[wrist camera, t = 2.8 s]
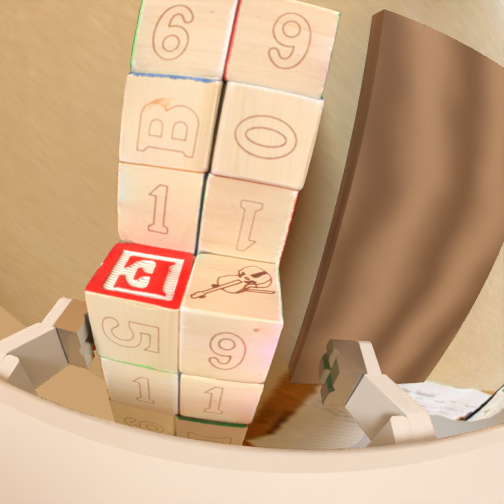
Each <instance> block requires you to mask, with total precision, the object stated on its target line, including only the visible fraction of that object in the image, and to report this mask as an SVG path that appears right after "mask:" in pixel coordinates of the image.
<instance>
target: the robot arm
mask: <svg viewBox="0 0 504 504" xmlns="http://www.w3.org/2000/svg"><path fill="white" fill-rule="evenodd" d="M94 350H96V348H95V344H94V339H93V334H92V329H91V324H90V320H89V315H88V309H87V304H86V302H83V301H79V300H75V299H74V300H73V299H70V298H66V297H62V298H60V299H59V300H58V302H57V303H56V304H55V305H54V307H53V308H52V309H51V311H50V312H49V313H48V315H47V316H46V317H45V319H44V320H43V321H42V323H36V324H34V325H32V326H30V327H28V328H25V329H23V330H21V331H19V332H17V333H15V334H13V335H11V336H9V337H7V338H5V339H3V340H0V504H504V423H502V424H498V425H495V426H491V427H487V428H484V429H480V430H476V431H472V432H467V433H463V434H458V435H454V436H449V437H443V438H438V439H437V438H436V435H435V432H434V429H433V426H432V423H431V420H430V417H429V414H428V412H427V411H426V410H425V409H424V408H423V407H421V406H420V405H419V404H418V403H417V402H416V401H415V400H414V399H412V398H411V397H410V396H409V395H408V394H407V393H406V392H405V391H403V390H402V389H401V388H400V387H399V386H398V385H397V384H396V383H394V382H393V381H392V380H391V379H390V378H389V377H388V376H387V375H385V374H382V373H381V370H380V367H379V364H378V361H377V358H376V355H375V352H374V349H373V346H372V344H371V342H370V341H352V340H335V339H330V340H329V341H328V343H327V345H326V351H327V353H325V354H324V355H322V357H321V360H320V363H319V369H318V375H319V381H320V382H321V383H322V384H323V386H322V388H321V397H322V404H323V405H333V406H345V408H346V409H347V411H348V412H349V413H350V414H351V416H352V417H353V418H354V419H355V421H356V422H357V423H358V425H359V426H360V427H361V428H362V430H363V431H364V432H365V434H366V435H367V436H368V437H369V439H370V440H371V442H370V443H369V444H368V445H367V446H366V447H365V448H348V449H281V448H263V447H250V446H240V445H230V444H222V443H214V442H207V441H200V440H194V439H188V438H182V437H177V436H171V435H166V434H161V433H157V432H152V431H148V430H143V429H139V428H135V427H131V426H127V425H123V424H119V423H116V422H112V421H108V420H105V419H102V418H98V417H95V416H92V415H89V414H86V413H83V412H80V411H76V410H74V409H71V408H68V407H65V406H62V405H60V404H57V403H54V402H52V401H49V400H47V399H44V398H42V397H39V396H38V394H37V393H36V391H35V389H36V388H38V387H39V386H40V385H42V384H43V383H44V382H46V381H47V380H49V379H50V378H51V377H53V376H54V375H55V374H57V373H58V372H60V371H61V370H62V369H64V368H65V367H67V366H68V364H71V365H75V366H78V367H82V368H86V369H88V368H89V366H90V364H91V363H92V361H93V359H94V357H95V355H94V352H93V351H94Z"/></svg>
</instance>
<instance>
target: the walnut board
mask: <svg viewBox="0 0 504 504" xmlns="http://www.w3.org/2000/svg"><path fill="white" fill-rule="evenodd" d="M503 242H504V68H503V67H502V66H500V65H499V64H497V63H495V62H494V61H492V60H491V59H489V58H487V57H486V56H484V55H482V54H481V53H479V52H477V51H475V50H474V49H472V48H470V47H468V46H466V45H464V44H463V43H461V42H459V41H457V40H455V39H453V38H451V37H449V36H447V35H445V34H443V33H441V32H439V31H436V30H434V29H432V28H430V27H428V26H425V25H423V24H421V23H418V22H416V21H414V20H411V19H409V18H406V17H404V16H401V15H398V14H396V13H393V12H390V11H387V10H385V9H384V10H382V11H380V12H379V13H377V14H375V15H373V16H372V23H371V30H370V37H369V44H368V51H367V57H366V63H365V69H364V75H363V81H362V87H361V92H360V97H359V103H358V108H357V113H356V118H355V123H354V128H353V133H352V138H351V142H350V147H349V152H348V156H347V161H346V165H345V170H344V174H343V178H342V182H341V187H340V191H339V195H338V199H337V203H336V207H335V211H334V215H333V219H332V223H331V227H330V230H329V234H328V238H327V242H326V245H325V249H324V253H323V256H322V260H321V264H320V267H319V271H318V274H317V278H316V281H315V284H314V288H313V291H312V295H311V298H310V301H309V304H308V308H307V311H306V314H305V317H304V321H303V324H302V327H301V330H300V333H299V336H298V339H297V342H296V346H295V349H294V352H293V355H292V358H291V361H290V363H289V375H290V383H301V384H322V383H321V382H320V381H319V375H318V369H319V363H320V360H321V357H322V355H324V354H325V353H327V351H326V345H327V343H328V341H329V340H330V339H335V340H352V341H370V342H371V344H372V346H373V349H374V352H375V355H376V358H377V361H378V364H379V367H380V370H381V373H382V374H385V375H387V376H388V377H389V378H390V379H391V380H392V381H393V382H394V383H396V384H402V383H419V382H424V381H425V380H426V379H427V377H428V376H429V375H430V373H431V372H432V370H433V369H434V367H435V366H436V365H437V363H438V362H439V360H440V359H441V357H442V356H443V354H444V353H445V351H446V350H447V348H448V347H449V345H450V343H451V342H452V340H453V339H454V337H455V335H456V334H457V332H458V331H459V329H460V327H461V325H462V324H463V322H464V320H465V319H466V317H467V315H468V313H469V312H470V310H471V308H472V306H473V304H474V303H475V301H476V299H477V297H478V295H479V293H480V291H481V289H482V287H483V285H484V283H485V281H486V279H487V277H488V275H489V273H490V271H491V269H492V267H493V265H494V263H495V260H496V258H497V256H498V254H499V251H500V249H501V247H502V244H503Z"/></svg>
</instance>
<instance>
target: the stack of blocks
mask: <svg viewBox="0 0 504 504" xmlns="http://www.w3.org/2000/svg"><path fill="white" fill-rule="evenodd" d="M339 21H340V12H336V11H333V10H330V9H326V8H323V7H319V6H316V5H312V4H308V3H304V2H299V1H295V0H142V2H141V7H140V11H139V16H138V21H137V26H136V31H135V36H134V41H133V47H132V54H131V61H130V66H131V72H130V73H129V74H128V75H127V79H126V84H125V93H124V101H123V110H122V121H121V135H120V146H119V159H120V162H119V166H118V172H117V177H118V178H117V226H118V233H119V237H120V241H119V242H118V243H117V244H116V245H115V246H114V247H113V248H112V250H111V251H110V252H109V254H108V256H107V257H106V259H105V260H104V261H103V263H102V264H101V265H100V267H99V269H98V270H97V271H96V273H95V274H94V276H93V277H92V279H91V280H90V281H89V283H88V285H87V287H86V288H85V298H86V304H87V309H88V315H89V320H90V324H91V329H92V334H93V339H94V344H95V348H96V352H97V354H98V355H99V357H100V363H101V369H102V372H103V376H104V380H105V382H106V387H107V391H108V394H109V402H110V406H111V409H112V413H113V416H114V419H115V422H116V423H119V424H123V425H127V426H131V427H135V428H139V429H143V430H148V431H152V432H157V433H161V434H166V435H171V436H177V437H182V438H188V439H194V440H200V441H207V442H214V443H222V444H230V445H240V446H242V443H243V440H244V438H245V435H246V432H247V428H248V424H249V423H251V422H252V420H253V418H254V415H255V412H256V409H257V407H258V404H259V401H260V398H261V395H262V392H263V389H264V382H265V380H266V378H267V375H268V372H269V369H270V366H271V363H272V360H273V357H274V354H275V351H276V348H277V345H278V342H279V339H280V335H281V332H282V330H283V327H284V320H283V307H282V295H281V283H280V272H279V264H280V262H281V258H282V254H283V251H284V247H285V244H286V240H287V236H288V233H289V229H290V225H291V221H292V218H293V214H294V210H295V207H296V203H297V199H298V195H299V191H300V190H301V189H302V188H303V186H304V183H305V179H306V176H307V172H308V168H309V165H310V161H311V157H312V154H313V150H314V146H315V142H316V138H317V134H318V129H319V125H320V121H321V117H322V112H323V108H324V100H323V99H322V94H323V91H324V87H325V83H326V79H327V75H328V70H329V66H330V61H331V57H332V53H333V48H334V44H335V39H336V35H337V30H338V25H339Z"/></svg>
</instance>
